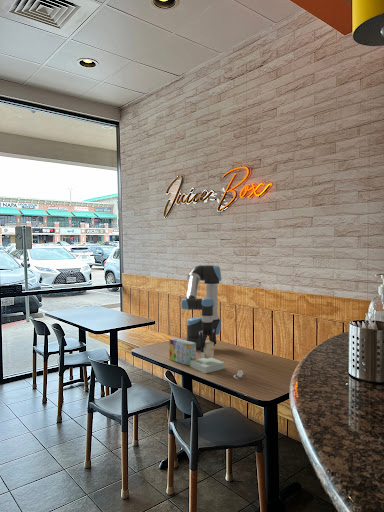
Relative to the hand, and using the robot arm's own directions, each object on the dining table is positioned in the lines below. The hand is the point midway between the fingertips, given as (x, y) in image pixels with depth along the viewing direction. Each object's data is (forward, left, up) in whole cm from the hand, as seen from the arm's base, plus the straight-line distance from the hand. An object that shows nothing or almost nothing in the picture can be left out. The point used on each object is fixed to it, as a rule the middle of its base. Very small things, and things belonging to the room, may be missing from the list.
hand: (207, 356), depth 261 cm
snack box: (-19, -6, -8) cm, 22 cm away
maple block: (0, 0, 0) cm, 1 cm away
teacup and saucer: (+26, +9, -8) cm, 29 cm away
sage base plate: (0, 0, -8) cm, 8 cm away
